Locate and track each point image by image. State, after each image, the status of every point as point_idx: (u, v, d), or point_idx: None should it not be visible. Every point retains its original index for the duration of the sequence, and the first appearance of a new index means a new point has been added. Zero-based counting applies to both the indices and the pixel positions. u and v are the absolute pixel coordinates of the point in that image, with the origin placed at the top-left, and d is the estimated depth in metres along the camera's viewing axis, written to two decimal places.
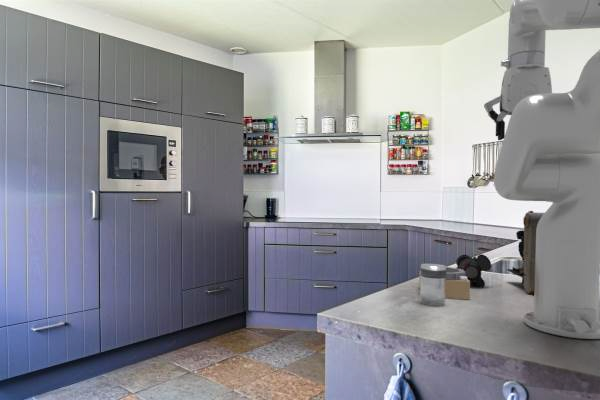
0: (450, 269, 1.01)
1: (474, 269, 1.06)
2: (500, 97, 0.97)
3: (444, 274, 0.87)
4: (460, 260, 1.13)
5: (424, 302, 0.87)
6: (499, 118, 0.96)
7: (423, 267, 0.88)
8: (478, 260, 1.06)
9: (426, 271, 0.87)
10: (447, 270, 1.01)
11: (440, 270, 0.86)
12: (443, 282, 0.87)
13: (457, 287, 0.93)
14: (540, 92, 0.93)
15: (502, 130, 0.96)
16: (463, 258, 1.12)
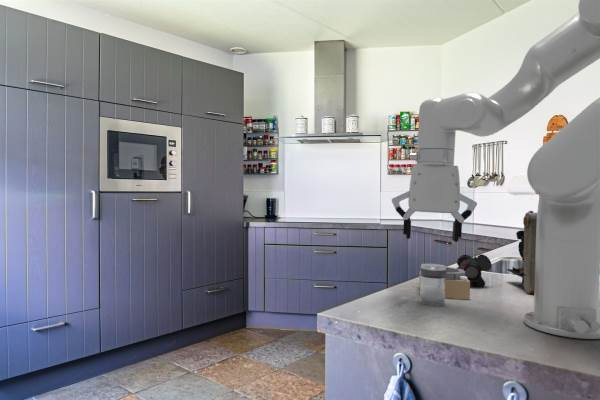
0: (450, 269, 1.01)
1: (474, 269, 1.06)
2: (407, 193, 0.89)
3: (444, 274, 0.87)
4: (461, 260, 1.13)
5: (424, 302, 0.87)
6: (405, 216, 0.89)
7: (423, 267, 0.88)
8: (478, 260, 1.06)
9: (426, 271, 0.87)
10: (447, 270, 1.01)
11: (440, 270, 0.86)
12: (443, 282, 0.87)
13: (457, 287, 0.93)
14: (447, 193, 0.85)
15: (408, 230, 0.88)
16: (464, 258, 1.12)
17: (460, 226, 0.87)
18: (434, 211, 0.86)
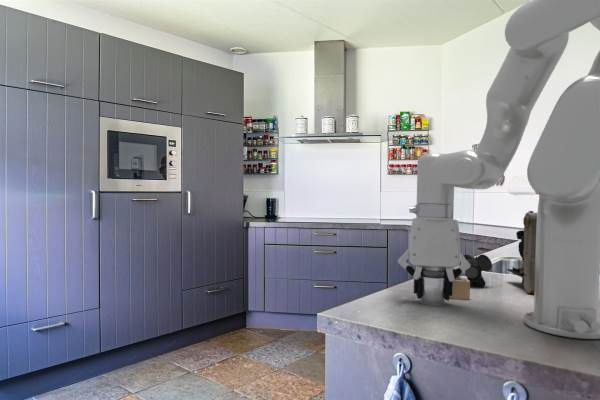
0: None
1: (474, 269, 1.06)
2: None
3: (444, 274, 0.87)
4: None
5: (424, 302, 0.87)
6: (415, 276, 0.88)
7: (423, 267, 0.88)
8: (478, 260, 1.06)
9: (426, 271, 0.87)
10: None
11: (440, 270, 0.86)
12: (443, 282, 0.87)
13: (457, 287, 0.93)
14: (447, 248, 0.85)
15: (418, 290, 0.88)
16: None
17: (451, 285, 0.87)
18: (435, 266, 0.86)
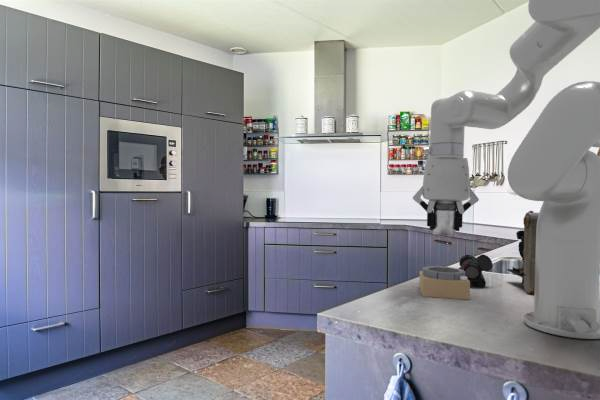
0: (450, 269, 1.01)
1: (475, 269, 1.06)
2: None
3: (455, 207, 0.96)
4: (462, 260, 1.13)
5: (437, 233, 0.97)
6: (429, 210, 0.98)
7: (436, 201, 0.97)
8: (479, 260, 1.05)
9: (438, 205, 0.97)
10: (447, 270, 1.01)
11: (451, 203, 0.96)
12: (454, 214, 0.96)
13: (457, 287, 0.93)
14: (458, 182, 0.95)
15: (432, 222, 0.97)
16: (465, 258, 1.12)
17: (461, 217, 0.97)
18: (446, 199, 0.96)
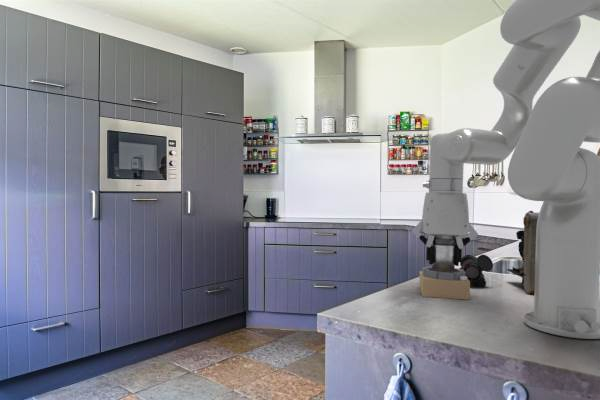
0: None
1: (475, 269, 1.06)
2: (423, 221, 0.99)
3: (454, 242, 0.96)
4: (463, 260, 1.13)
5: (436, 267, 0.97)
6: (428, 244, 0.98)
7: (435, 236, 0.97)
8: (479, 260, 1.05)
9: (438, 240, 0.97)
10: None
11: (451, 238, 0.96)
12: (453, 249, 0.96)
13: (457, 287, 0.93)
14: (457, 218, 0.95)
15: (431, 256, 0.97)
16: (466, 258, 1.12)
17: (460, 252, 0.97)
18: (446, 234, 0.96)
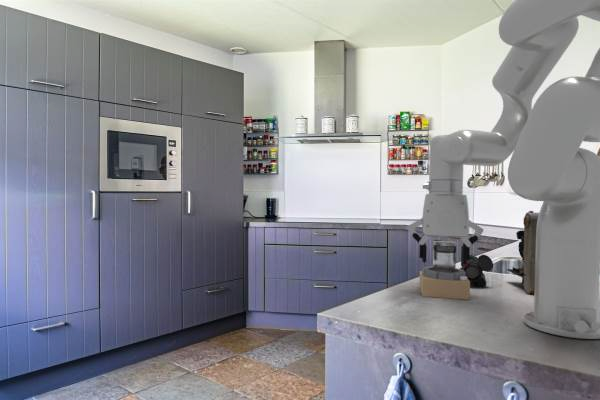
0: None
1: (475, 269, 1.06)
2: (421, 220, 0.99)
3: (455, 249, 0.96)
4: None
5: None
6: (421, 242, 0.98)
7: (435, 243, 0.97)
8: (479, 260, 1.05)
9: (438, 247, 0.97)
10: None
11: (451, 246, 0.96)
12: (454, 256, 0.96)
13: (457, 287, 0.93)
14: (457, 219, 0.95)
15: (424, 254, 0.98)
16: None
17: (468, 250, 0.96)
18: (446, 236, 0.96)
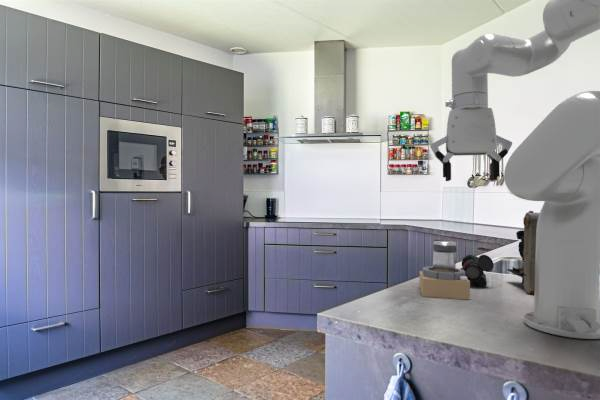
0: None
1: (475, 269, 1.06)
2: (445, 138, 0.95)
3: (455, 249, 0.96)
4: (464, 260, 1.12)
5: None
6: (445, 159, 0.94)
7: (436, 243, 0.97)
8: (479, 260, 1.05)
9: (438, 247, 0.97)
10: None
11: (451, 245, 0.96)
12: (454, 256, 0.96)
13: (457, 287, 0.93)
14: (484, 133, 0.91)
15: (448, 171, 0.93)
16: (467, 258, 1.12)
17: (498, 165, 0.92)
18: (473, 151, 0.92)
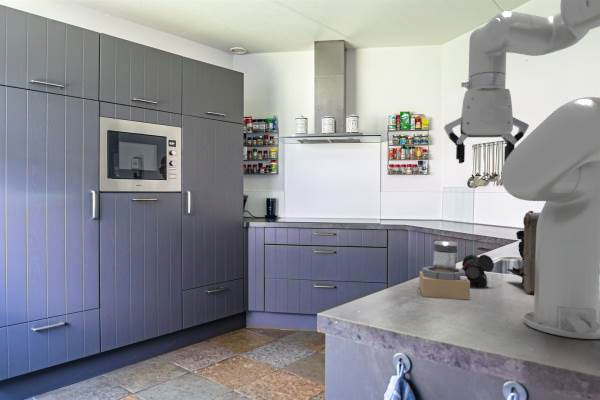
0: None
1: (476, 269, 1.06)
2: (460, 119, 0.93)
3: (456, 249, 0.96)
4: (465, 260, 1.12)
5: None
6: (459, 141, 0.92)
7: (437, 243, 0.97)
8: (480, 260, 1.05)
9: (440, 246, 0.96)
10: None
11: (452, 246, 0.96)
12: (455, 256, 0.96)
13: (457, 287, 0.93)
14: (500, 115, 0.89)
15: (462, 153, 0.92)
16: (468, 258, 1.12)
17: (513, 148, 0.91)
18: (488, 133, 0.90)
